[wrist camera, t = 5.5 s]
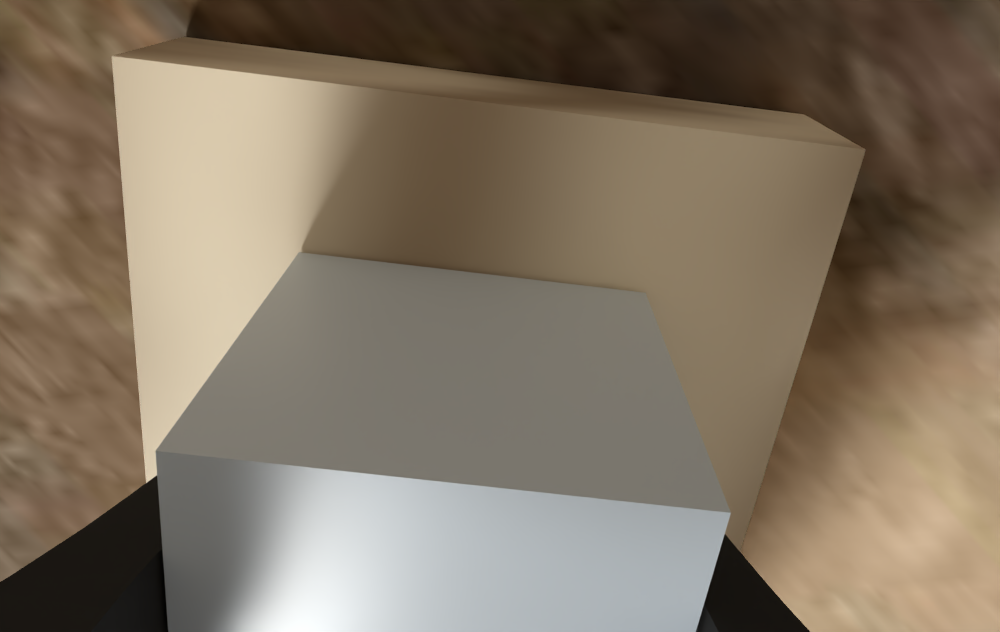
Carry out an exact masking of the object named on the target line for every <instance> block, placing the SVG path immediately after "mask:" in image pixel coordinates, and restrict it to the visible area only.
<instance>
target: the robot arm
mask: <svg viewBox="0 0 1000 632" xmlns="http://www.w3.org/2000/svg"><path fill="white" fill-rule="evenodd" d="M0 632H168V621H167V607H166V593H165V579H164V564H163V550H162V536H161V522H160V508H159V494H158V479H157V475H156V476H155V477H154V478H152V479H151V480H150V481H148V482H147V483H146V484H144V485H143V486H142V487H140V488H139V489H138V490H136V491H135V492H133V493H132V494H131V495H129V496H128V497H127V498H125V499H124V500H122V501H121V502H120V503H118V504H117V505H115V506H114V507H113V508H111V509H110V510H108V511H107V512H106V513H104V514H103V515H101V516H100V517H99V518H97V519H96V520H94V521H93V522H92V523H90V524H89V525H87V526H86V527H85V528H83V529H82V530H80V531H79V532H77V533H76V534H74V535H73V536H71V537H69V538H68V539H66V540H65V541H63V542H62V543H60V544H59V545H57V546H56V547H54V548H53V549H51V550H50V551H48V552H46V553H45V554H43V555H42V556H40V557H39V558H37V559H36V560H34V561H33V562H31V563H30V564H28V565H27V566H25V567H23V568H22V569H20V570H19V571H17V572H16V573H14V574H13V575H11V576H10V577H8V578H6V579H5V580H3V581H1V582H0ZM696 632H810V631H809V630H808V629H807V628H806V627H805V626H804V625H803V624H802V622H801V621H800V620H799V619H798V618H797V617H796V616H795V615H794V614H793V613H792V612H791V610H790V609H789V608H788V607H787V606H786V605H785V604H784V603H783V602H782V600H781V599H780V598H779V597H778V596H777V595H776V594H775V593H774V591H773V590H772V589H771V588H770V587H769V586H768V584H767V583H766V582H765V581H764V580H763V579H762V577H761V576H760V575H759V574H758V573H757V572H756V570H755V569H754V568H753V567H752V566H751V564H750V563H749V562H748V561H747V560H746V559H745V557H744V556H743V555H742V554H741V553H740V551H739V550H738V549H737V548H736V546H735V545H734V544H733V543H732V542H731V540H730V539H729V538H728V537H727V535H726V534H725V535H724V538H723V541H722V545H721V548H720V552H719V555H718V558H717V562H716V565H715V568H714V572H713V575H712V579H711V582H710V585H709V589H708V592H707V596H706V599H705V602H704V606H703V609H702V613H701V616H700V619H699V623H698V626H697V629H696Z"/></svg>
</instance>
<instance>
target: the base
mask: <svg viewBox="0 0 1000 632" xmlns="http://www.w3.org/2000/svg"><path fill="white" fill-rule="evenodd" d="M112 65H113V78H114V90H115V102H116V115H117V127H118V139H119V152H120V164H121V177H122V189H123V201H124V214H125V226H126V238H127V251H128V263H129V275H130V288H131V300H132V312H133V325H134V337H135V349H136V362H137V374H138V387H139V399H140V411H141V424H142V436H143V448H144V461H145V473H146V483H147V482H148V481H150V480H151V479H152V478H154V477H155V476H156V475H157V465H156V449H157V448H158V447H159V445H160V444H161V443H162V441H163V440H164V438H165V437H166V436H167V434H168V433H169V431H170V430H171V429H172V427H173V426H174V425H175V423H176V422H177V420H178V419H179V418H180V416H181V415H182V413H183V412H184V411H185V409H186V408H187V407H188V405H189V404H190V402H191V401H192V400H193V398H194V397H195V395H196V394H197V393H198V391H199V390H200V389H201V387H202V386H203V384H204V383H205V382H206V380H207V379H208V377H209V376H210V375H211V373H212V372H213V371H214V369H215V368H216V366H217V365H218V364H219V362H220V361H221V359H222V358H223V357H224V355H225V354H226V353H227V351H228V350H229V348H230V347H231V346H232V344H233V343H234V341H235V340H236V339H237V337H238V336H239V335H240V333H241V332H242V330H243V329H244V328H245V326H246V325H247V323H248V322H249V321H250V319H251V318H252V317H253V315H254V314H255V312H256V311H257V310H258V308H259V307H260V306H261V304H262V303H263V301H264V300H265V299H266V297H267V296H268V294H269V293H270V292H271V290H272V289H273V288H274V286H275V285H276V283H277V282H278V281H279V279H280V278H281V276H282V275H283V274H284V272H285V271H286V270H287V268H288V267H289V265H290V264H291V263H292V261H293V260H294V258H295V257H296V256H297V254H298V253H299V252H302V253H310V254H319V255H327V256H336V257H345V258H353V259H362V260H370V261H379V262H387V263H396V264H404V265H413V266H422V267H430V268H439V269H447V270H456V271H464V272H473V273H481V274H490V275H499V276H507V277H516V278H524V279H533V280H541V281H550V282H558V283H567V284H576V285H584V286H593V287H601V288H610V289H618V290H627V291H635V292H644V293H646V295H647V298H648V300H649V303H650V306H651V308H652V311H653V313H654V316H655V318H656V321H657V324H658V326H659V329H660V331H661V334H662V336H663V339H664V342H665V344H666V347H667V349H668V352H669V355H670V357H671V360H672V362H673V365H674V367H675V370H676V373H677V375H678V378H679V380H680V383H681V385H682V388H683V391H684V393H685V396H686V398H687V401H688V404H689V406H690V409H691V411H692V414H693V416H694V419H695V422H696V424H697V427H698V429H699V432H700V435H701V437H702V440H703V442H704V445H705V447H706V450H707V453H708V455H709V458H710V460H711V463H712V465H713V468H714V471H715V473H716V476H717V478H718V481H719V484H720V486H721V489H722V491H723V494H724V496H725V499H726V502H727V504H728V507H729V509H730V512H731V514H730V518H729V521H728V524H727V528H726V531H725V534H726V535H727V537H728V538H729V539H730V540H731V542H732V543H733V544H734V545H735V546H736V548H737V549H738V550H739V551H741V548H742V545H743V541H744V538H745V535H746V532H747V529H748V525H749V522H750V519H751V516H752V513H753V509H754V506H755V503H756V500H757V497H758V493H759V490H760V487H761V484H762V481H763V477H764V474H765V471H766V468H767V465H768V461H769V458H770V455H771V452H772V448H773V445H774V442H775V439H776V436H777V432H778V429H779V426H780V423H781V420H782V416H783V413H784V410H785V407H786V404H787V400H788V397H789V394H790V391H791V388H792V384H793V381H794V378H795V375H796V372H797V368H798V365H799V362H800V359H801V356H802V352H803V349H804V346H805V343H806V340H807V336H808V333H809V330H810V327H811V324H812V320H813V317H814V314H815V311H816V307H817V304H818V301H819V298H820V295H821V291H822V288H823V285H824V282H825V279H826V275H827V272H828V269H829V266H830V263H831V259H832V256H833V253H834V250H835V247H836V243H837V240H838V237H839V234H840V231H841V227H842V224H843V221H844V218H845V215H846V211H847V208H848V205H849V202H850V199H851V195H852V192H853V189H854V186H855V183H856V179H857V176H858V173H859V170H860V166H861V163H862V160H863V157H864V154H865V150H866V149H864V148H862V147H860V146H859V145H857V144H855V143H853V142H852V141H850V140H848V139H846V138H845V137H843V136H841V135H839V134H838V133H836V132H834V131H832V130H831V129H829V128H827V127H825V126H824V125H822V124H820V123H818V122H817V121H815V120H813V119H811V118H810V117H808V116H806V115H804V114H797V113H789V112H781V111H773V110H765V109H757V108H749V107H741V106H733V105H725V104H717V103H709V102H701V101H693V100H685V99H677V98H669V97H661V96H653V95H645V94H637V93H629V92H621V91H613V90H605V89H597V88H589V87H581V86H573V85H565V84H557V83H549V82H541V81H533V80H525V79H517V78H509V77H501V76H493V75H485V74H477V73H470V72H462V71H454V70H446V69H438V68H430V67H422V66H414V65H406V64H398V63H390V62H382V61H374V60H366V59H358V58H350V57H342V56H334V55H326V54H318V53H310V52H302V51H294V50H286V49H278V48H270V47H262V46H254V45H246V44H238V43H230V42H222V41H214V40H206V39H198V38H190V37H181V38H178V39H174V40H170V41H166V42H162V43H159V44H155V45H151V46H147V47H144V48H140V49H136V50H132V51H129V52H125V53H121V54H117V55H114V56H112Z"/></svg>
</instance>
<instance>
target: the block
mask: <svg viewBox="0 0 1000 632" xmlns="http://www.w3.org/2000/svg"><path fill="white" fill-rule="evenodd" d="M156 465H157V479H158V494H159V508H160V522H161V536H162V550H163V564H164V579H165V593H166V607H167V621H168V632H696V629H697V626H698V623H699V619H700V616H701V613H702V609H703V606H704V602H705V599H706V596H707V592H708V589H709V585H710V582H711V579H712V575H713V572H714V568H715V565H716V562H717V558H718V555H719V552H720V548H721V545H722V541H723V538H724V535H725V531H726V528H727V524H728V521H729V518H730V514H731V512H730V509H729V507H728V504H727V502H726V499H725V496H724V494H723V491H722V489H721V486H720V484H719V481H718V478H717V476H716V473H715V471H714V468H713V465H712V463H711V460H710V458H709V455H708V453H707V450H706V447H705V445H704V442H703V440H702V437H701V435H700V432H699V429H698V427H697V424H696V422H695V419H694V416H693V414H692V411H691V409H690V406H689V404H688V401H687V398H686V396H685V393H684V391H683V388H682V385H681V383H680V380H679V378H678V375H677V373H676V370H675V367H674V365H673V362H672V360H671V357H670V355H669V352H668V349H667V347H666V344H665V342H664V339H663V336H662V334H661V331H660V329H659V326H658V324H657V321H656V318H655V316H654V313H653V311H652V308H651V306H650V303H649V300H648V298H647V295H646V293H644V292H635V291H627V290H618V289H610V288H601V287H593V286H584V285H576V284H567V283H558V282H550V281H541V280H533V279H524V278H516V277H507V276H499V275H490V274H481V273H473V272H464V271H456V270H447V269H439V268H430V267H422V266H413V265H404V264H396V263H387V262H379V261H370V260H362V259H353V258H345V257H336V256H327V255H319V254H310V253H302V252H299V253H298V254H297V256H296V257H295V258H294V260H293V261H292V263H291V264H290V265H289V267H288V268H287V270H286V271H285V272H284V274H283V275H282V276H281V278H280V279H279V281H278V282H277V283H276V285H275V286H274V288H273V289H272V290H271V292H270V293H269V294H268V296H267V297H266V299H265V300H264V301H263V303H262V304H261V306H260V307H259V308H258V310H257V311H256V312H255V314H254V315H253V317H252V318H251V319H250V321H249V322H248V323H247V325H246V326H245V328H244V329H243V330H242V332H241V333H240V335H239V336H238V337H237V339H236V340H235V341H234V343H233V344H232V346H231V347H230V348H229V350H228V351H227V353H226V354H225V355H224V357H223V358H222V359H221V361H220V362H219V364H218V365H217V366H216V368H215V369H214V371H213V372H212V373H211V375H210V376H209V377H208V379H207V380H206V382H205V383H204V384H203V386H202V387H201V389H200V390H199V391H198V393H197V394H196V395H195V397H194V398H193V400H192V401H191V402H190V404H189V405H188V407H187V408H186V409H185V411H184V412H183V413H182V415H181V416H180V418H179V419H178V420H177V422H176V423H175V425H174V426H173V427H172V429H171V430H170V431H169V433H168V434H167V436H166V437H165V438H164V440H163V441H162V443H161V444H160V445H159V447H158V448H157V449H156Z"/></svg>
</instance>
